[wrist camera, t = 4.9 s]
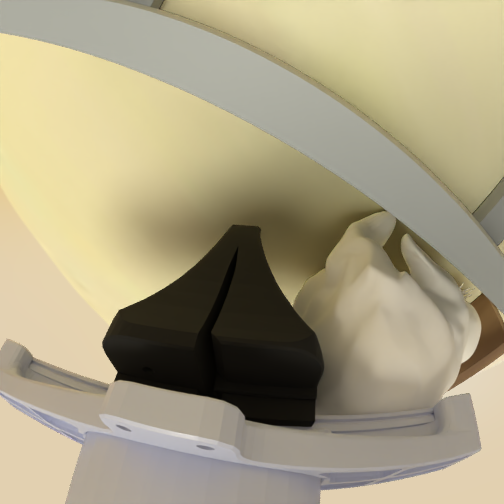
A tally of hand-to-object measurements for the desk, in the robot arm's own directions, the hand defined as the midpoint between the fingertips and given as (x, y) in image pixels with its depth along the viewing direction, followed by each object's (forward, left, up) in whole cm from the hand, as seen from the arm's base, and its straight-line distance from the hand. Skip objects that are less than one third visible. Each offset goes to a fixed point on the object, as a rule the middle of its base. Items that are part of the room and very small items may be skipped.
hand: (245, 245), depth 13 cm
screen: (0, -8, -1) cm, 8 cm away
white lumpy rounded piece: (-8, -2, -1) cm, 8 cm away
